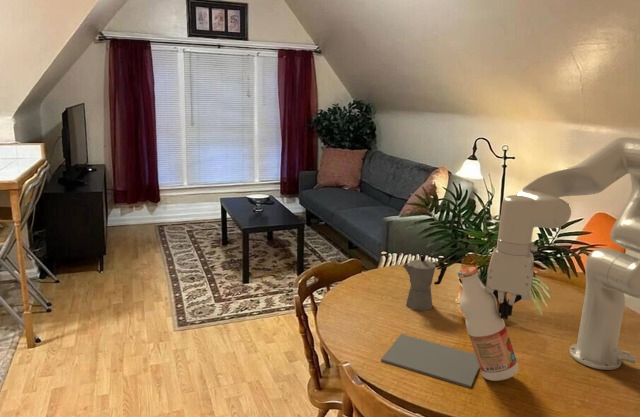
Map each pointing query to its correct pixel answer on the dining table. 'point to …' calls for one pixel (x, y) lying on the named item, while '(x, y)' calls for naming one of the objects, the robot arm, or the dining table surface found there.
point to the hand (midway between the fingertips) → (504, 316)
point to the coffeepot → (422, 282)
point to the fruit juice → (486, 328)
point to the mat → (433, 360)
